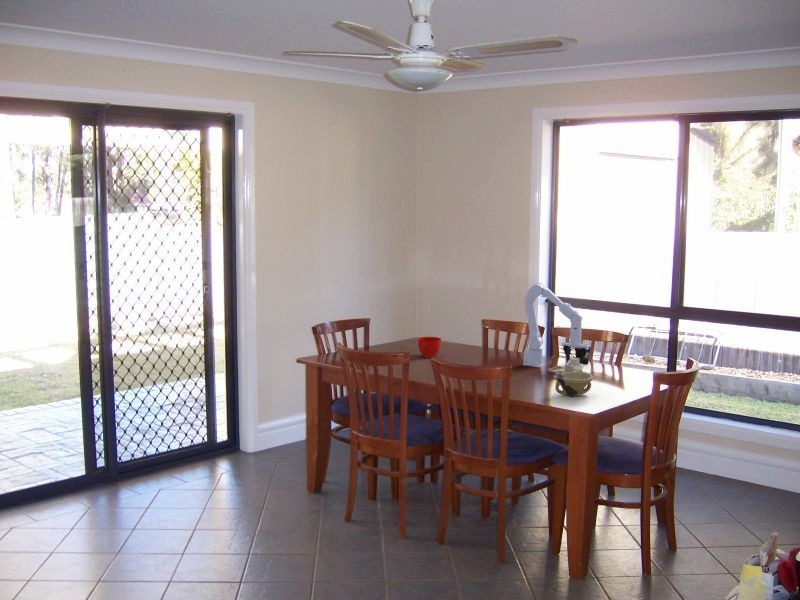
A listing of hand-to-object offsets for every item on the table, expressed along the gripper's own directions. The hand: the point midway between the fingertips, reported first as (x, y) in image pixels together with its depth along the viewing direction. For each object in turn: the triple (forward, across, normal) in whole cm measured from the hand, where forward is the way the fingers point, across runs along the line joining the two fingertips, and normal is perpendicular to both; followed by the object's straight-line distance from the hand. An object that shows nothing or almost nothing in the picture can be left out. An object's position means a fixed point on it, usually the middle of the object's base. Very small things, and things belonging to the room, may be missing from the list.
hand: (574, 361), depth 423 cm
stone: (+3, +4, -14) cm, 14 cm away
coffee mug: (+4, -4, +13) cm, 14 cm away
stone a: (+3, 0, 0) cm, 3 cm away
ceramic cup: (+4, -76, -26) cm, 81 cm away
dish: (+4, 0, 0) cm, 4 cm away
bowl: (+4, +24, -50) cm, 55 cm away
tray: (+4, 0, -11) cm, 12 cm away
